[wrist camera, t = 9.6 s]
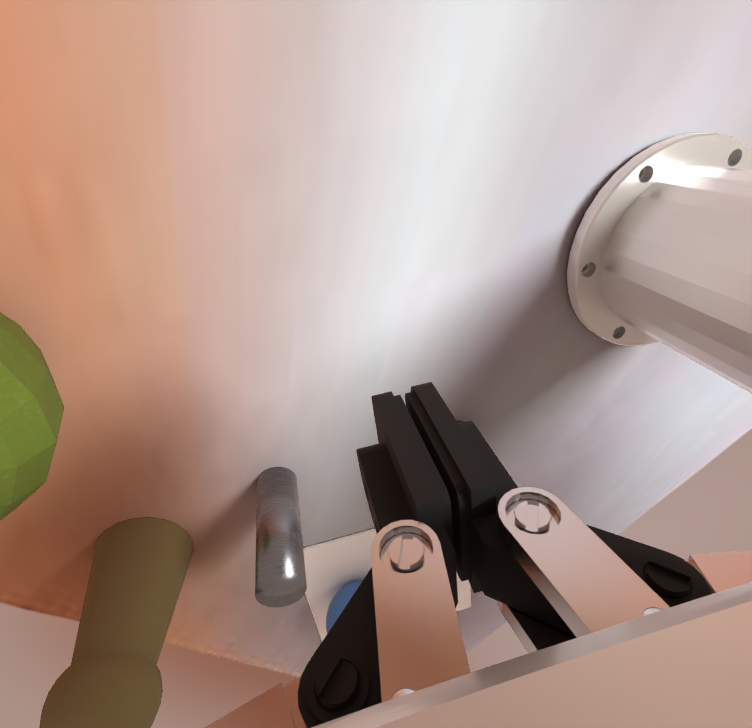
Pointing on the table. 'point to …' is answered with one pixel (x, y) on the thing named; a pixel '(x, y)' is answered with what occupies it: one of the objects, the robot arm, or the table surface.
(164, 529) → the olive pawn shape
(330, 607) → the ball
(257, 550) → the post
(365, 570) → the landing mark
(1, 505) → the apple
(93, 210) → the table surface
